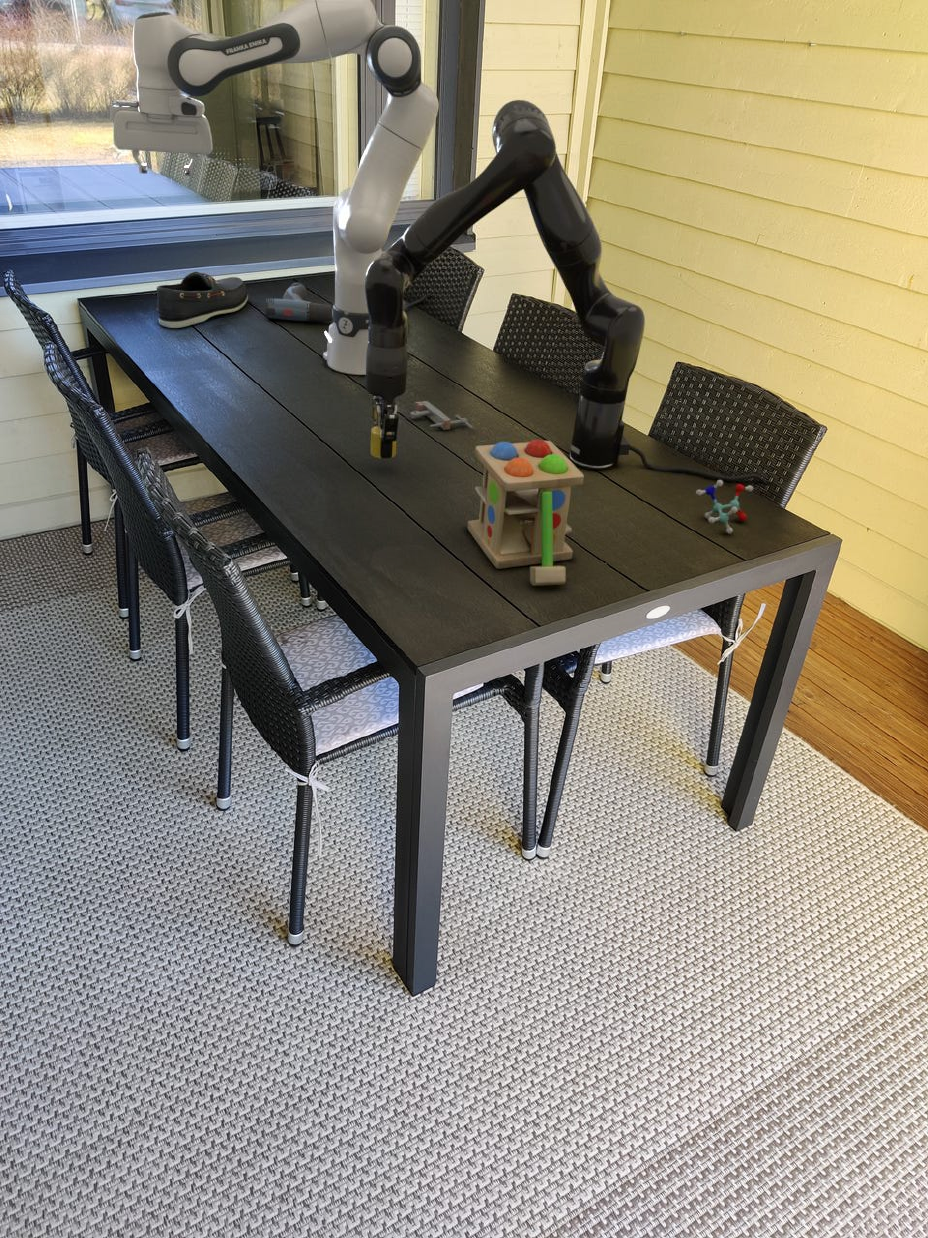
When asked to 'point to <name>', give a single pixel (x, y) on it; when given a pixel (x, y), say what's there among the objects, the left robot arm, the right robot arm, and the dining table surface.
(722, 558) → the dining table surface
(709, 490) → the molecular model
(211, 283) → the boat shoe
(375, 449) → the yellow cylinder
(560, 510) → the pounding bench toy
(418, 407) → the clamp
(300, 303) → the power drill
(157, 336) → the dining table surface
